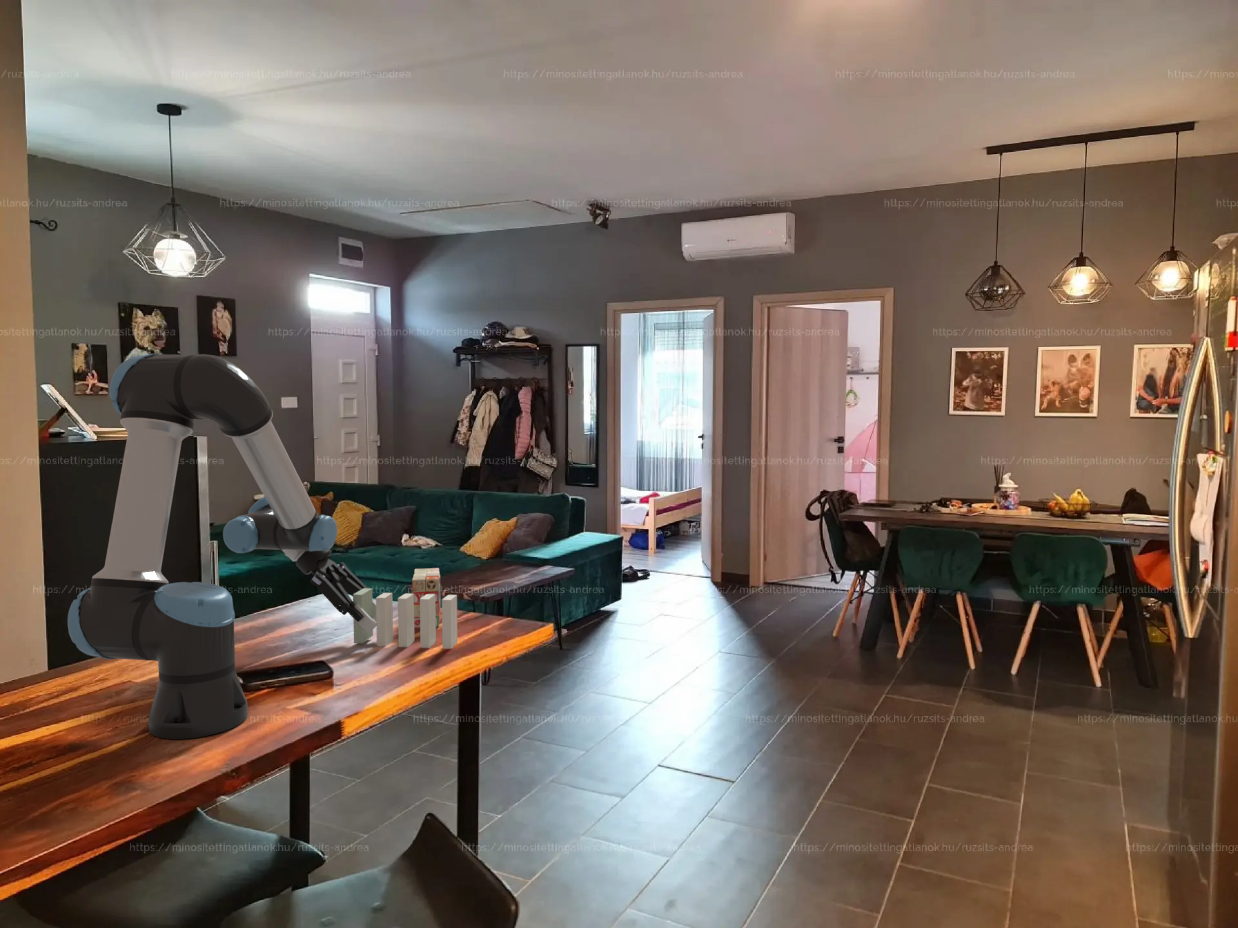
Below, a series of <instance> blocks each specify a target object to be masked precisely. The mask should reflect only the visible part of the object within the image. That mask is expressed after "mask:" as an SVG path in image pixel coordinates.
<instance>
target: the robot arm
mask: <svg viewBox="0 0 1238 928" xmlns="http://www.w3.org/2000/svg"><path fill="white" fill-rule="evenodd" d="M109 397H110V400H113V401H112V403H111V405H112V407H113V409H114V410H115V412H116V413H117V414H119V415H120V419H119V423H120V424H121V426H122V427H123V428H124V429H125V431H126V432H127V437H126V443H125V447H124V454H123V459H122V466H121V471H120V477H119V483H118V489H117V493H116V499H115V505H114V511H113V518H112V522H111V528H110V532H109V533H110V534H109V540H108V546H107V551H106V557H105V562H104V563H105V564H104V567H103V568H102V569H101V570H100V571H98V572H96V573H95V574H94V575H92V577H91V584H90V587H89V588H87V589H85V590H82V591H81V592H79V593H78V595H77V596H76V597H77V598H76V599H73V601H72V602H71V604H70V607H69V609H68V613H67V629H68V630H67V631H68V634H69V637H70V639H71V641H72V643H74V644H75V646H76V648H77V649H78V651H81V653H83V654H85V655H87V656H91V657H98V658H103V659H106V660H115V659H116V660H117V659H118V660H119V659H121V660H122V659H123V660H132V661H133V660H135V661H136V660H137V661H149V662H151V661H152V662H153V661H154V662H157V664H158V665H157V667H158V686H157V688H156V692H155V693H154V694H155V695H154V698H153V701H152V705H151V708H150V711H149V714H148V731H149V733H150V734H151V735H153V736H155V737H157V738H162V739H168V740H184V739H186V740H187V739H197V738H201V737H203V738H204V737H207V736H211V735H216V734H219V733H222V732H225V731H228V730H231V729H233V728H236V727H237V726H239V725H240V724H242V723H243V722H245V720H247V718H248V714H249V711H248V710H249V708H248V700H247V698H246V696H245V693H244V690H243V688H242V685H241V683H240V680H239V679H238V675H237V674H236V673H237V672H236V651H235V650H236V649H235V644H236V643H235V641H236V640H235V617H236V616H235V615H236V614H235V610H234V604H233V603H234V602H233V596H232V594H231V593H230V592H229V590H227V589H226V588H225V587H224V586H220V585H218V584H214V583H209V582H201V581H192V582H188V581H181V582H179V581H178V582H173V583H169V580H168V579H167V578H166V577H165V576H164V575H163V573H162V565H163V561H164V560H163V559H164V552H165V546H166V540H167V533H168V527H169V521H170V515H171V509H172V504H173V503H172V502H173V497H174V492H175V491H174V490H175V486H176V477H177V472H178V467H179V459H180V453H181V447H182V441H184V439H186V438H188V437H189V436H190V435H192V434H193V433H194V425H195V420H208V421H210V422H213V423H214V424H216V425H217V426H218V428H219V430H220V431H221V433H222V434H223V435H224V436H226V437H229V438H231V439H232V441H233V443H234V445H235V446H236V448H237V449H238V452H239V453H240V455H241V457H242V459H243V460H244V463H246V466H247V468H248V469H249V471H250V473H251V475H252V477H253V478H254V480H255V482H256V484H257V486H258V487H259V489H260V490H261V493H262V494H263V497H261V498H260V499H258V500H257V501H256V502H255V503H253V504H252V506H251V507H250V508H249V510H248V512H247V513H246V514H243V515H242V514H241V515H238V516H237V517H235V518H233V519H230V520H229V521H227V523H226V524H225V525H224V527H223V530H222V536H223V537H222V538H223V541H224V544H225V546H226V547H227V548H228V549H229V550H231V552H234V553H237V554H244V553H250V552H252V551H254V550H278V551H279V550H280V551H282V552H283V553H284V556H286V557H288V558H289V560H291V561H292V562H295V566H296V567H297V568H298V569H299V570H300V571H301V573H303V574H304V575H310V574H312V575H313V577H312V578H311V579H309V582H310V584H311V585H313V586H314V587H316V588H317V589H318V590H319V592H320V593H322V595H323V596H324V597H325V598H326V600H328V602H330V604H331V605H332V606H333V608H335V609H336V610H337V611H338V612H339V613H341V614H342V615H343V616H346V614H347V613H348V614H349V615H350V617H351V618H354V619H355V620H356V621H357V622H358V623H359V625H360V626H361V627H362V628H363V629H364V630H365V631H366V632H367V633H368V634H369V633H370V632H371V631H372V630H373V631H374V629H376V628H377V625H378V624H377V622H376V601H374V600H373V599H372V608H373V619H372V618H371V617H370V616H369V615H368V614H367V613H366V612H365V611H364V610H363V609H362V608H361V607H360V606H359V605H358V604H356V605H355V604H354V602H353V598H351V597H353V594H355V593H356V592H358V591H360V590H362V589H363V588H368V587H367V585H366V584H365V583H363V582H362V580H360V579H359V577H357V576H356V575H355V574H354V573H353V572H352V571H351V569H349V567H347V565H346V564H345V563H344V562H342V561H341V562H340V563H339V564H337V563H336V562H335V561H333V560H332V559H331V556H332V550H331V548H333V547H334V544H335V543H336V540H337V536H338V525H337V522H336V520H335V519H334V518H333V517H332V516H330V515H325V514H320V515H319V514H318V512H317V510H316V507H315V506H314V504H313V502H312V500H311V498H310V495H309V494H308V492H307V489H306V488H305V486H304V485H303V482H302V480H301V478H300V476H299V474H298V472H297V470H296V468H295V466H294V464H293V462H292V460H291V459H290V456H289V454H288V453H287V450H286V448H285V446H284V443H283V442H282V440H281V437H280V436H279V434H278V432H277V430H276V428H275V426H274V424H273V422H272V419H273V416H274V412H273V409H272V407H271V405H270V403H269V400H268V399H267V397H266V396H265V394H264V393H263V391H262V390H261V389H260V387H258V385H257V384H256V383H255V382H254V380H252V379H251V377H249V375H248V374H246V373H245V372H244V371H243V370H242V369H240V367H238V366H237V365H235V364H233V362H231V361H228V360H227V359H224V358H223V357H220V356H218V355H217V356H216V355H213V354H204V353H201V354H200V353H198V354H159V353H150V354H145V355H135V356H132V357H129V358H128V359H126V360H124V361H123V362H122V363H120V364H119V365H118V366H117V368H116V369H115V371H114V372H113V375H112V377H111V380H110V384H109ZM350 596H351V597H350ZM354 605H355V606H354Z"/></svg>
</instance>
